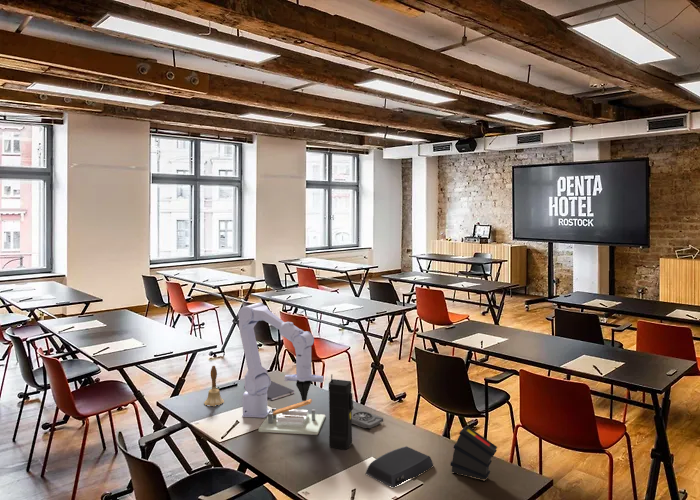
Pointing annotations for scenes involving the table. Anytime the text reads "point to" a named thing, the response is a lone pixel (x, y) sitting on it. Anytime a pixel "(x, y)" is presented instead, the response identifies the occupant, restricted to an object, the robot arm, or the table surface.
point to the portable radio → (340, 414)
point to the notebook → (277, 391)
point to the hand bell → (214, 391)
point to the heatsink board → (305, 430)
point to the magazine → (472, 454)
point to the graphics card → (365, 418)
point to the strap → (291, 407)
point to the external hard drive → (399, 466)
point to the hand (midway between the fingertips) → (304, 399)
